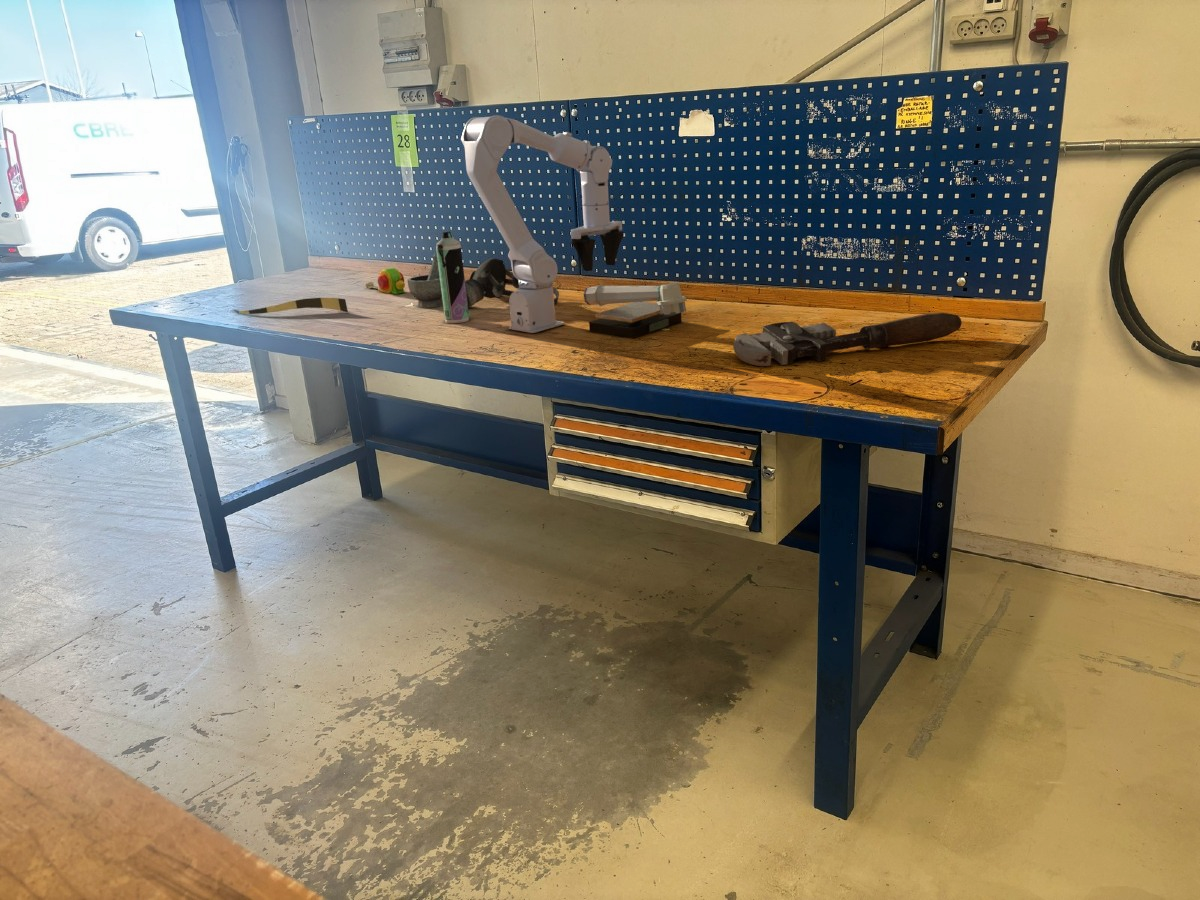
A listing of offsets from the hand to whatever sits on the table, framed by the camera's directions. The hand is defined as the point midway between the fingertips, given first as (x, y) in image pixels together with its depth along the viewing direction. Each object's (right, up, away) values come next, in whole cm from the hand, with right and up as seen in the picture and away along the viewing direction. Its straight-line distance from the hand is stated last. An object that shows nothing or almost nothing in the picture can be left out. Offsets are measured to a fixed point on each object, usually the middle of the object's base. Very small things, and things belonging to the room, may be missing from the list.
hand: (599, 267), depth 189 cm
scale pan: (+8, -13, -11) cm, 18 cm away
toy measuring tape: (-60, +4, +48) cm, 77 cm away
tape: (-81, -5, +29) cm, 86 cm away
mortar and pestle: (-42, -4, +26) cm, 50 cm away
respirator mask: (-21, -4, +22) cm, 31 cm away
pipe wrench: (+45, -22, -35) cm, 61 cm away
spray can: (-33, -11, +6) cm, 35 cm away
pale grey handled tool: (+8, -11, -11) cm, 18 cm away
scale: (+8, -15, -10) cm, 19 cm away
